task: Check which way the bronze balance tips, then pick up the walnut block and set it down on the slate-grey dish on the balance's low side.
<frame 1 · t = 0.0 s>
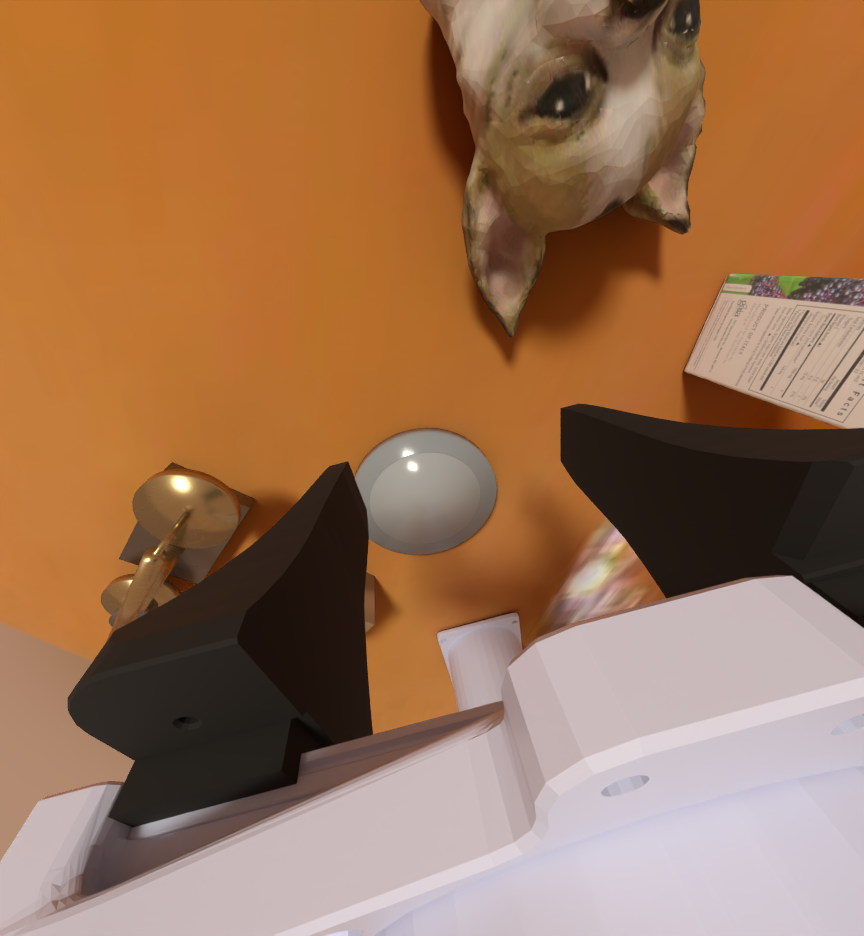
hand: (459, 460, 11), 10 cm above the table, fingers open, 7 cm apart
walnut block: (335, 581, 28), on the table
ceramic sculpture: (526, 121, 15), on the table
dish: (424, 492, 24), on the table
syrup box: (735, 331, 22), on the table
bronze balance: (190, 523, 23), on the table
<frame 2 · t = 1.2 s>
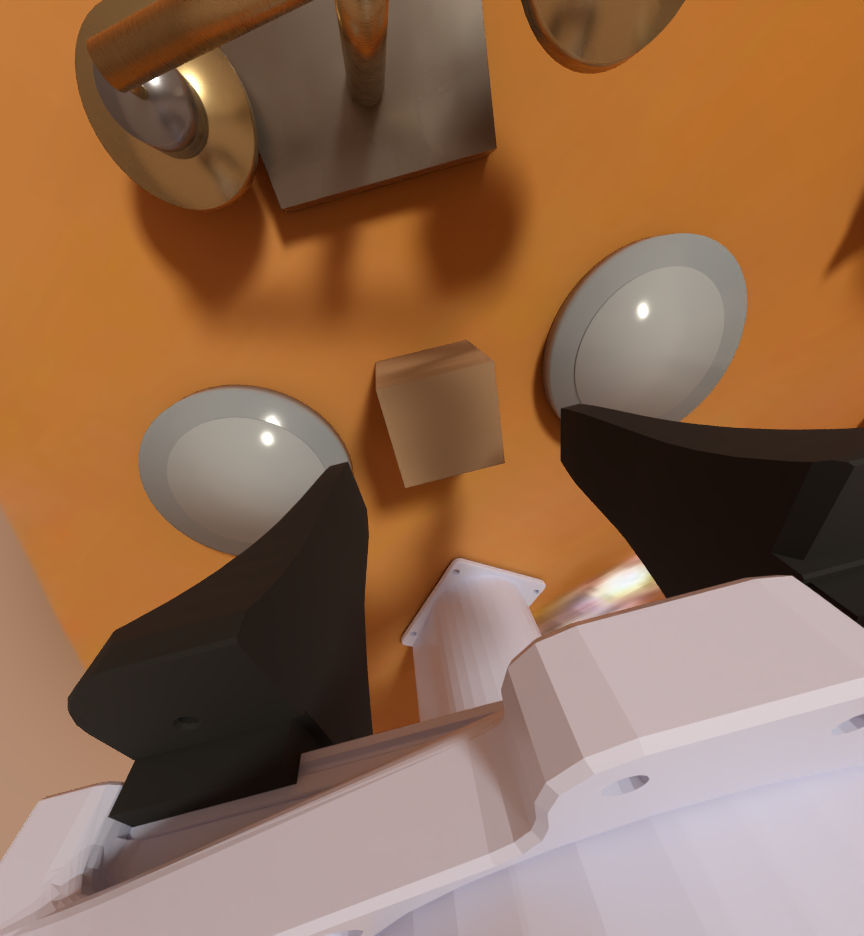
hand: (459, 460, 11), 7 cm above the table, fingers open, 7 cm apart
walnut block: (430, 394, 18), on the table
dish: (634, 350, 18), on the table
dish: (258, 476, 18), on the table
bronze balance: (366, 93, 12), on the table
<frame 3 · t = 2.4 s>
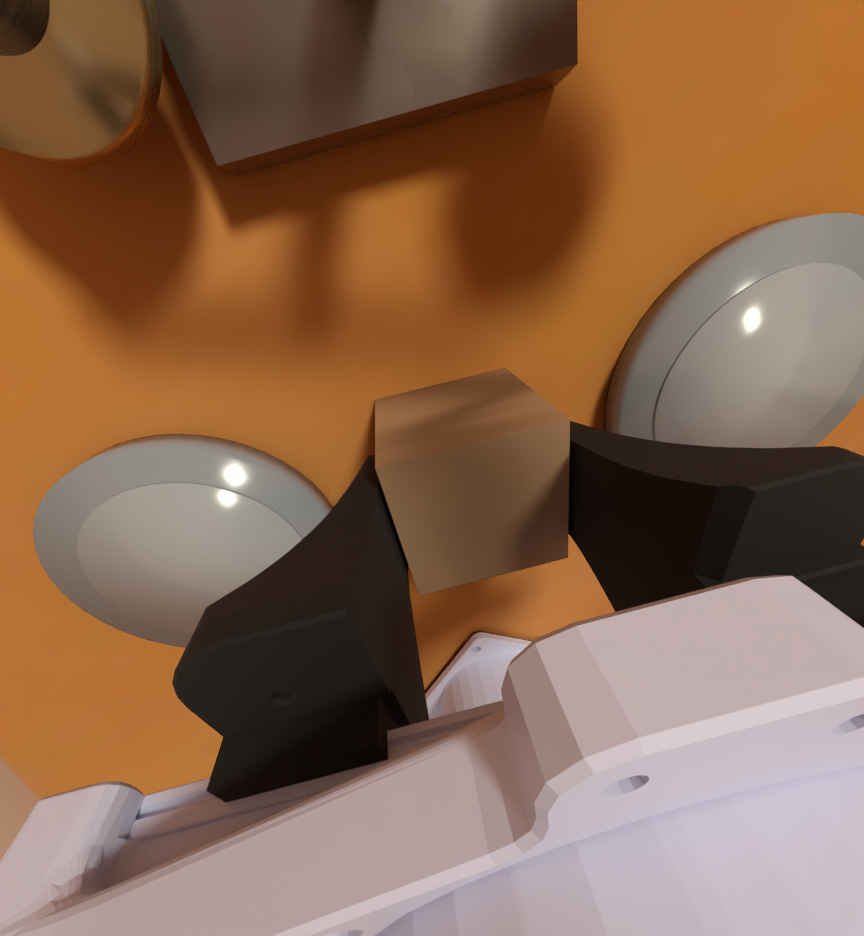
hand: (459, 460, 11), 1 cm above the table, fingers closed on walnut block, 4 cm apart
walnut block: (451, 442, 13), on the table, touching gripper
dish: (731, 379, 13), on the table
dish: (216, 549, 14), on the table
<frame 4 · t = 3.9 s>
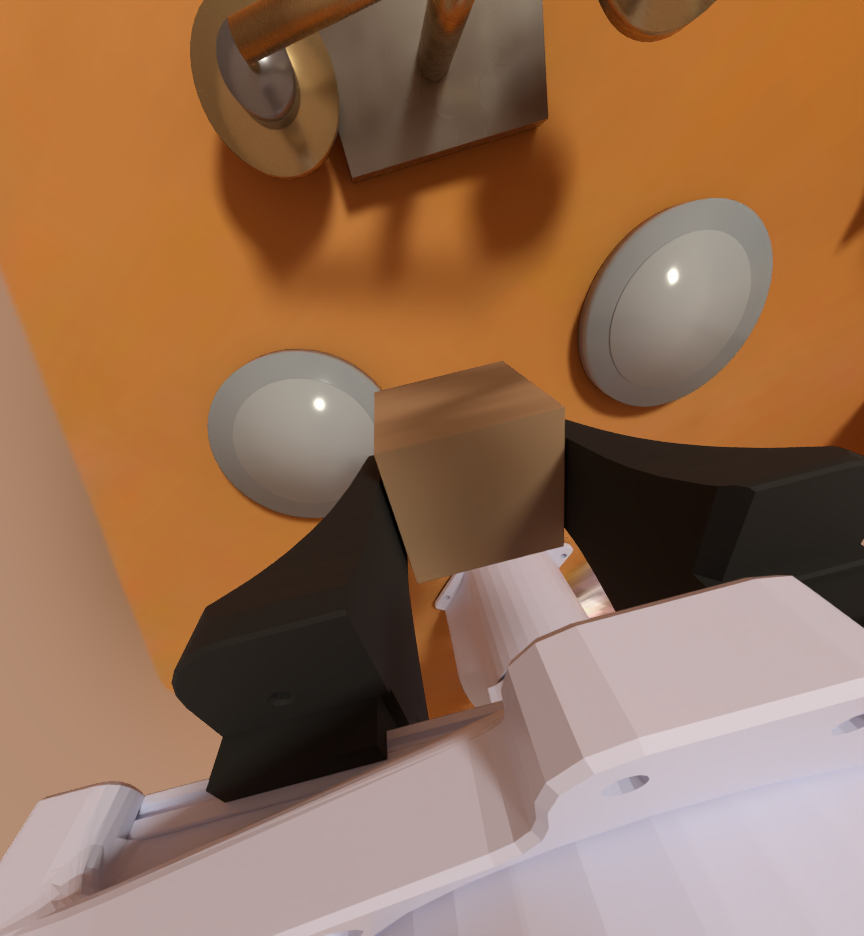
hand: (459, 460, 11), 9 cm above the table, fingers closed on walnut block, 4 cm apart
walnut block: (449, 434, 13), point 7 cm above the table, touching gripper
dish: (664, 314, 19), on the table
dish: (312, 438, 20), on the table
bronze balance: (430, 69, 13), on the table
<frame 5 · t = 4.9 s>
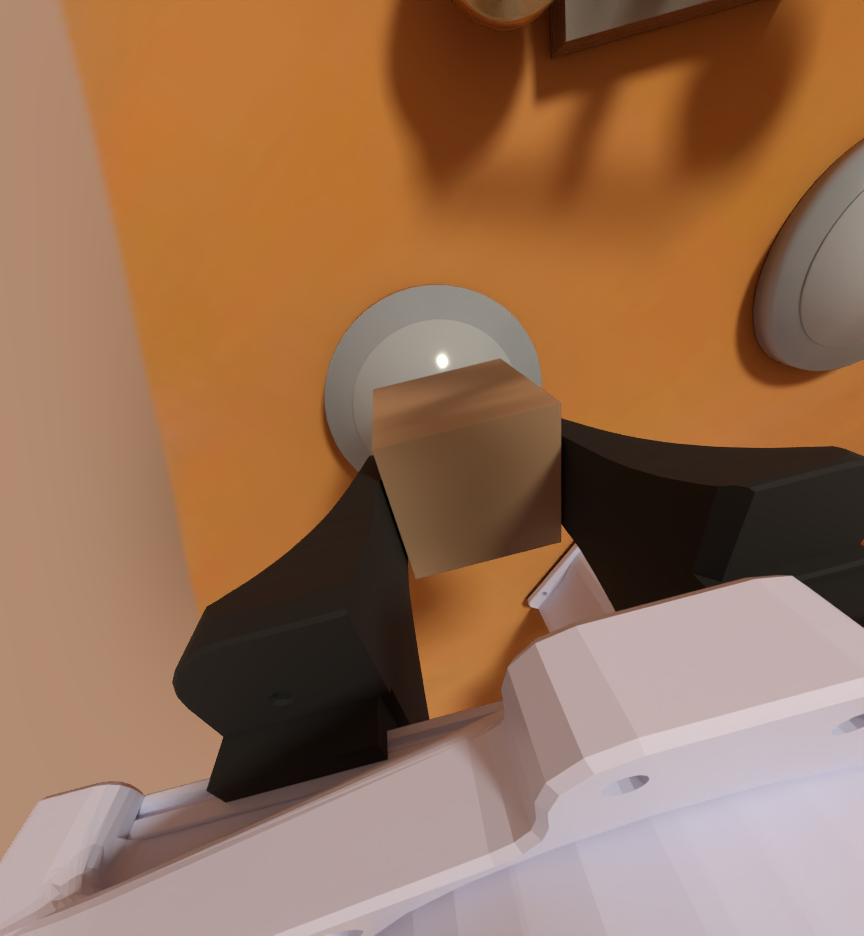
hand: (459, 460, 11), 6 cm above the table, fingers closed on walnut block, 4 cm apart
walnut block: (448, 431, 13), point 4 cm above the table, touching gripper
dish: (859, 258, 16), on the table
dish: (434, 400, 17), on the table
when the fingers open (3 cm above the table, at t = 5.8 s): walnut block stays where it is, resting on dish.
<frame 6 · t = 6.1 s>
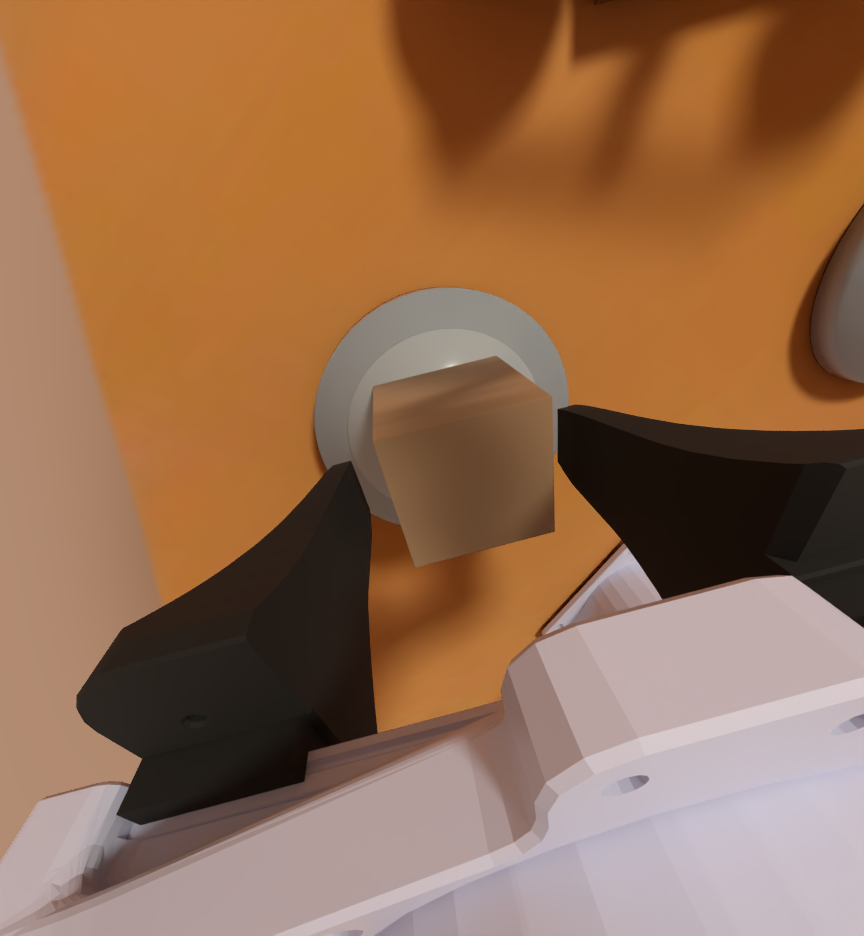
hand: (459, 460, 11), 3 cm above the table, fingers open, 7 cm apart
walnut block: (446, 427, 13), point 1 cm above the table, touching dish
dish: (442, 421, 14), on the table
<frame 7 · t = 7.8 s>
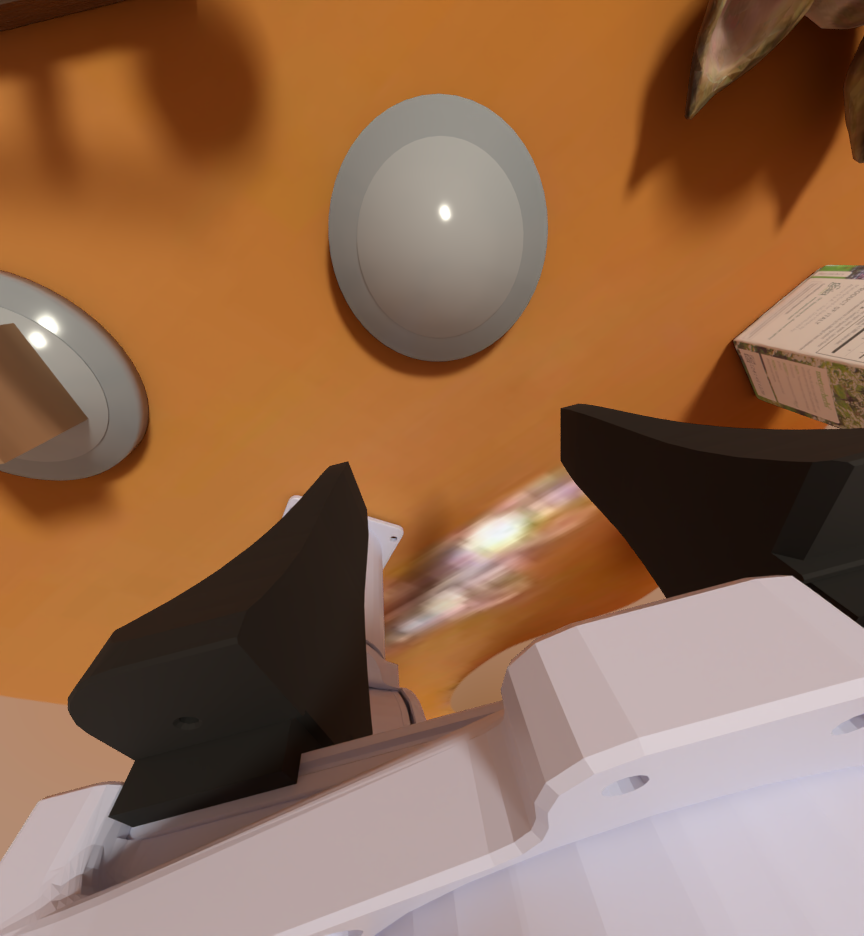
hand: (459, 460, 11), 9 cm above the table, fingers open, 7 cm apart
walnut block: (4, 385, 16), point 1 cm above the table, touching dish
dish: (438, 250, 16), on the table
syrup box: (779, 338, 22), on the table
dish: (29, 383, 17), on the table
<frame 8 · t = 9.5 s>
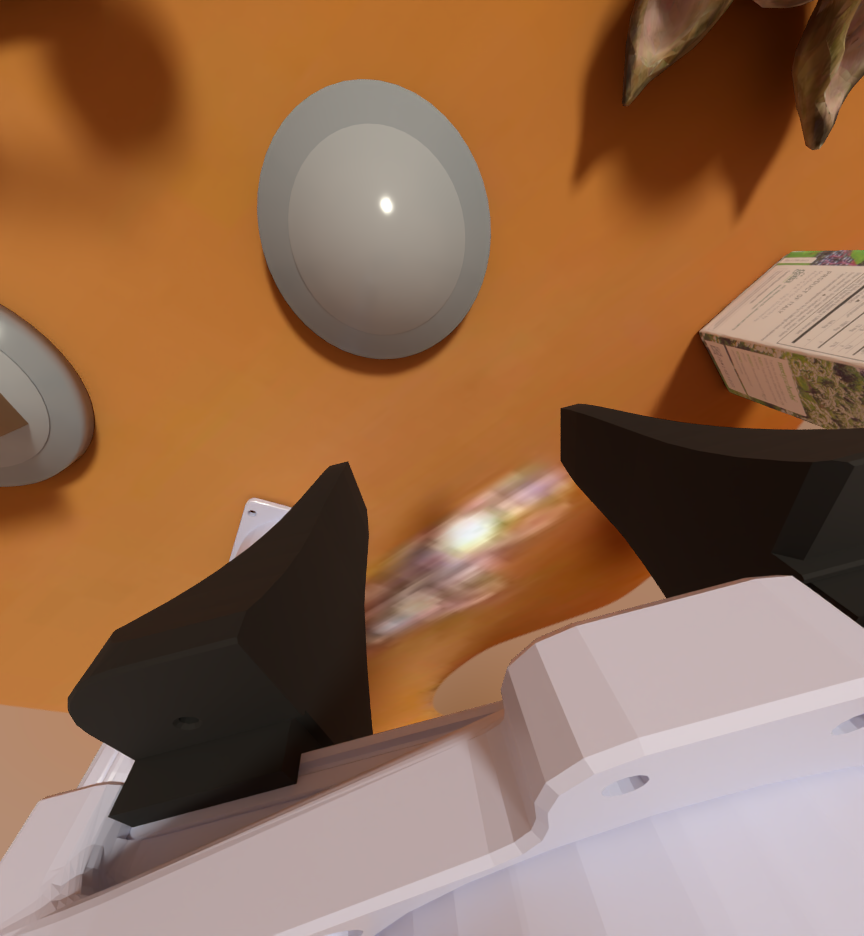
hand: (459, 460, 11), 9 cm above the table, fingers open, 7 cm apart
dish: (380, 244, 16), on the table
syrup box: (749, 329, 21), on the table
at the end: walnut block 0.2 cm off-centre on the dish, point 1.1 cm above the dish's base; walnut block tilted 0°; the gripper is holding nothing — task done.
